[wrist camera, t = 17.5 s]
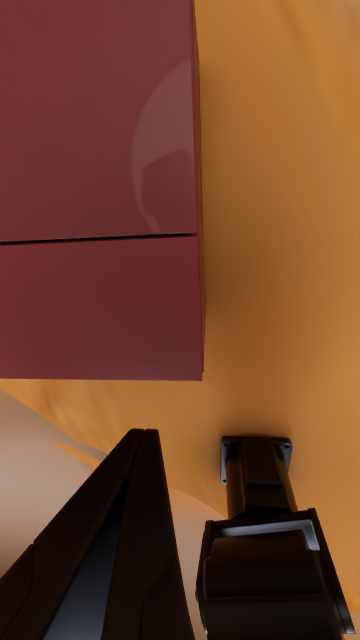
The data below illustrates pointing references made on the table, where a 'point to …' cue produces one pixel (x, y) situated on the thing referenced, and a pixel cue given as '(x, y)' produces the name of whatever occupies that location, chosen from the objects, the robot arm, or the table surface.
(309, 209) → the table surface
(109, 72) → the dark red open box
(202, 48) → the table surface
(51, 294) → the flap
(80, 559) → the robot arm
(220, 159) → the table surface
